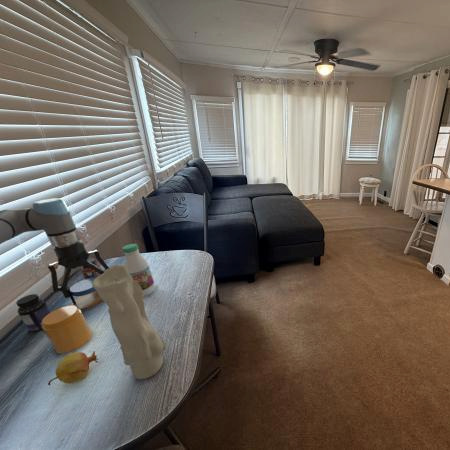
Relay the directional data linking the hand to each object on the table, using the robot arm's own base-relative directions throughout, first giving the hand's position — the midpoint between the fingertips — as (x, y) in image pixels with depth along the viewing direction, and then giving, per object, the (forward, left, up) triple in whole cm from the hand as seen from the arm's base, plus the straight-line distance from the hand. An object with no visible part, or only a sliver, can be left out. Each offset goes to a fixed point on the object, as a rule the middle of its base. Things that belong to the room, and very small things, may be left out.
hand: (91, 296), depth 91 cm
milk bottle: (+18, +4, -1) cm, 18 cm away
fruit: (+22, -31, -1) cm, 38 cm away
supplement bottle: (-5, +9, -1) cm, 10 cm away
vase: (+40, -29, -1) cm, 49 cm away
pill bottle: (-6, -13, -1) cm, 15 cm away
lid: (0, 0, +5) cm, 5 cm away
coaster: (0, 0, -1) cm, 1 cm away
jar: (+11, -20, -1) cm, 23 cm away
